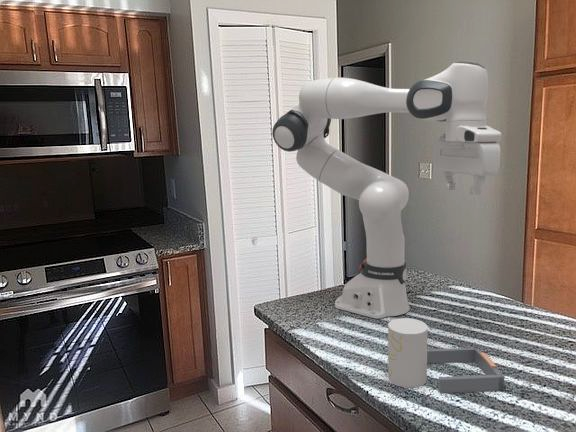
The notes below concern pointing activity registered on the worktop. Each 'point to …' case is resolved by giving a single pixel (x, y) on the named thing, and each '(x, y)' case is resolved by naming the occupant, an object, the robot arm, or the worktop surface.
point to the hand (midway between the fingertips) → (462, 192)
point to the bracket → (467, 383)
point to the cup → (407, 352)
